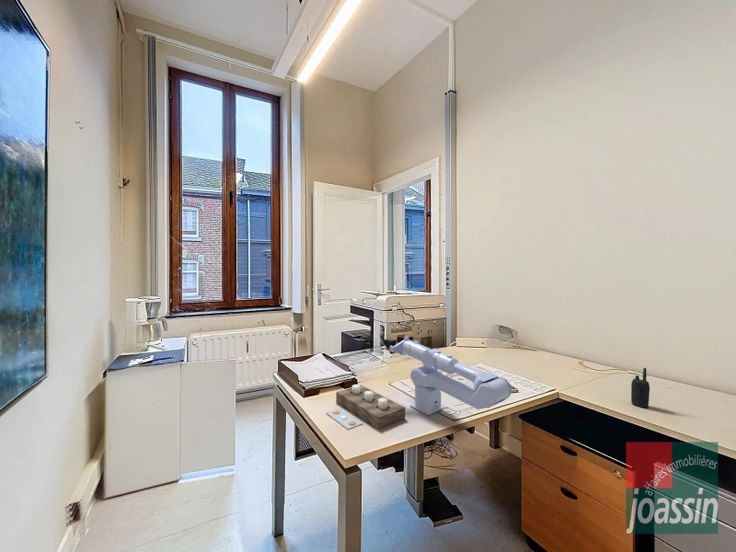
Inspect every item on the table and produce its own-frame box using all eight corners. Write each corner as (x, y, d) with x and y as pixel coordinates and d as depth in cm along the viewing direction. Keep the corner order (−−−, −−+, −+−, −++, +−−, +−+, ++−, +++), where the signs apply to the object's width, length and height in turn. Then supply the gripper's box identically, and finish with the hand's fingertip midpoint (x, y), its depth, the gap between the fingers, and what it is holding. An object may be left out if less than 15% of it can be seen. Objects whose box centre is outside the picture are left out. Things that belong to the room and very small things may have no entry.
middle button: (374, 403, 118) (374, 392, 118) (368, 406, 116) (368, 395, 116) (369, 400, 120) (369, 390, 120) (362, 402, 118) (362, 392, 118)
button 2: (389, 411, 112) (389, 400, 111) (382, 414, 110) (382, 402, 109) (383, 408, 114) (383, 397, 114) (376, 410, 112) (376, 399, 112)
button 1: (362, 396, 124) (362, 386, 124) (355, 398, 122) (355, 388, 122) (357, 393, 127) (357, 383, 127) (350, 395, 125) (350, 385, 125)
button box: (405, 418, 112) (405, 407, 111) (378, 429, 104) (378, 417, 104) (361, 394, 132) (361, 384, 132) (336, 402, 125) (336, 392, 125)
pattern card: (362, 424, 108) (362, 422, 108) (348, 429, 104) (348, 428, 104) (340, 409, 119) (340, 407, 119) (326, 413, 115) (326, 412, 115)
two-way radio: (650, 407, 121) (652, 368, 120) (645, 410, 118) (646, 370, 118) (632, 402, 125) (634, 364, 125) (627, 404, 123) (628, 366, 123)
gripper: (427, 337, 128) (404, 329, 139) (401, 343, 119) (378, 333, 130) (426, 354, 129) (402, 344, 139) (400, 361, 120) (377, 350, 131)
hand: (390, 340), depth 135 cm, fingers open, 7 cm apart
